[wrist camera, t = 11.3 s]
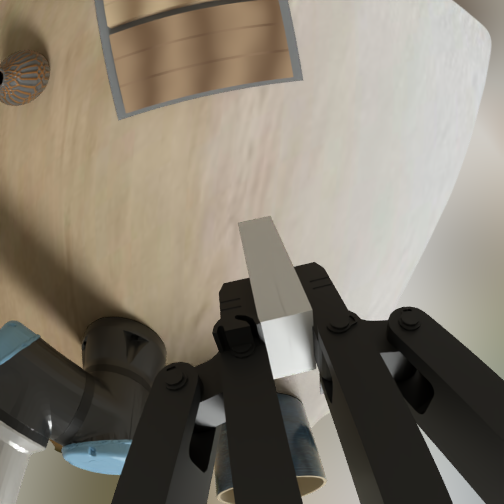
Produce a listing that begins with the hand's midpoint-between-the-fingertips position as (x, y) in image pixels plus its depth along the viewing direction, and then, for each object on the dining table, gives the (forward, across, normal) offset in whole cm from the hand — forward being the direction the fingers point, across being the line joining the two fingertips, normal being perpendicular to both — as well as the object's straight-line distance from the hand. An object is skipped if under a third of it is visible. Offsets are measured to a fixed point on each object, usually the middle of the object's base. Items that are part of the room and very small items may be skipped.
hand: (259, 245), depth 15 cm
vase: (+25, -22, +17) cm, 37 cm away
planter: (+25, -6, -58) cm, 63 cm away
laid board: (+24, -1, +12) cm, 27 cm away
